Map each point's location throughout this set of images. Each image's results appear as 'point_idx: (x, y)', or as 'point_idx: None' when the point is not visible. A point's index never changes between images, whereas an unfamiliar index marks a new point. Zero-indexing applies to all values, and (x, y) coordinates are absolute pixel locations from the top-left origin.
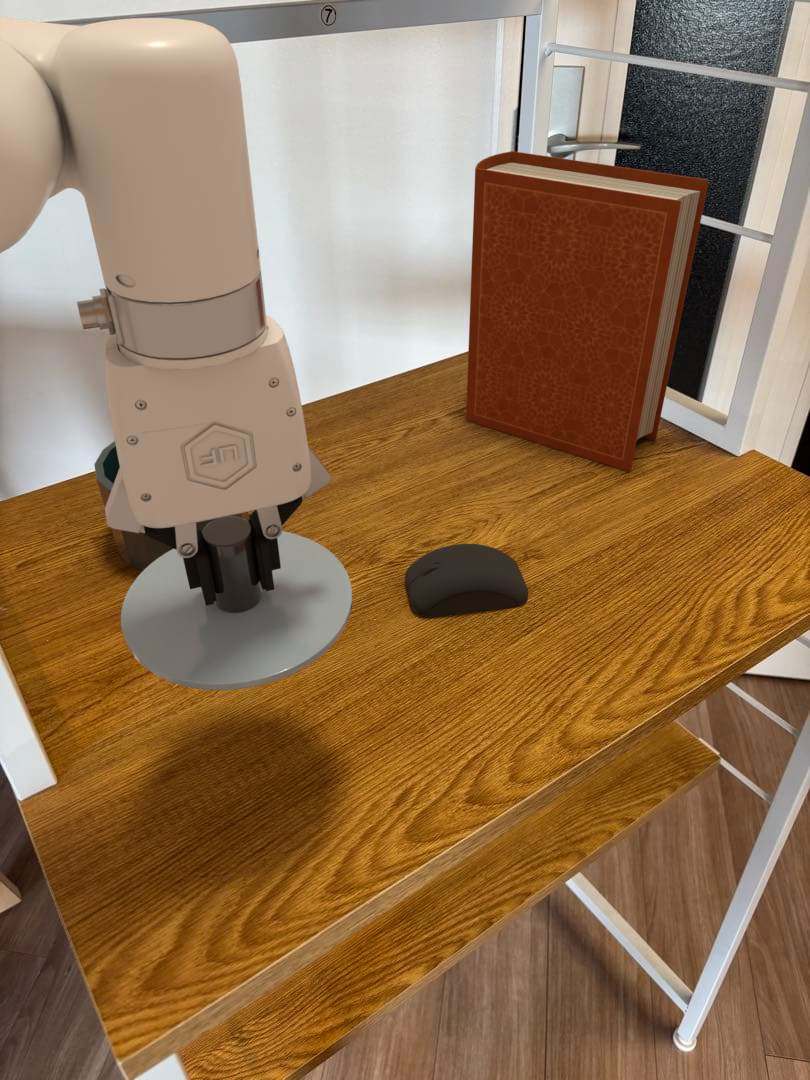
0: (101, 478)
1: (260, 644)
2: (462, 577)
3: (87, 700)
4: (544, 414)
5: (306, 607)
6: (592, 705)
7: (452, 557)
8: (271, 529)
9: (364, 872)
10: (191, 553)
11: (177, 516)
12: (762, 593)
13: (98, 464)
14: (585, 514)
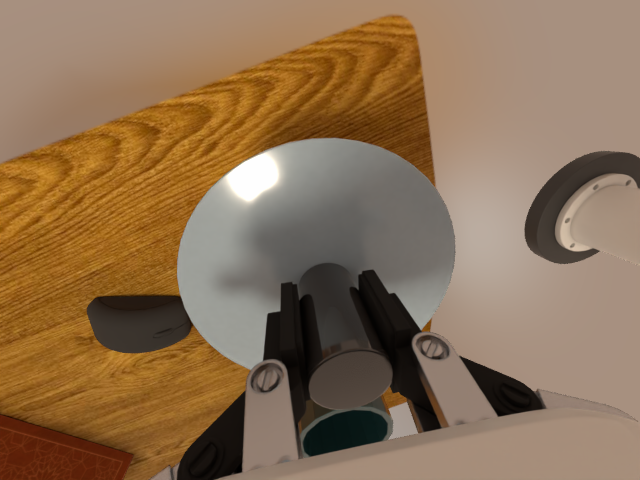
0: (390, 421)
1: (308, 204)
2: (133, 322)
3: None
4: (48, 467)
5: (242, 257)
6: (36, 194)
7: (140, 341)
8: (269, 380)
9: (245, 92)
10: (418, 339)
11: (577, 459)
12: None
13: (390, 432)
14: (33, 373)
